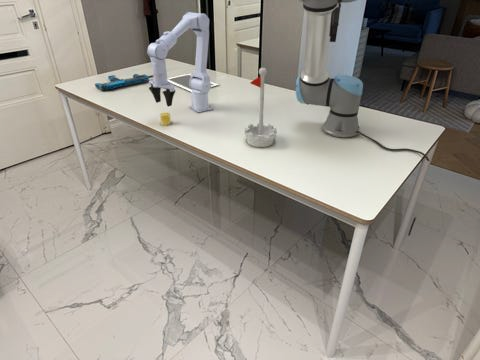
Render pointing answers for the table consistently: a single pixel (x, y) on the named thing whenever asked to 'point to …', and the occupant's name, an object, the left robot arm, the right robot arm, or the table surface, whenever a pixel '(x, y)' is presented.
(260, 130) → the flag stand
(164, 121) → the tin
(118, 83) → the submachine gun
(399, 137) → the table surface
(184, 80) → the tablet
